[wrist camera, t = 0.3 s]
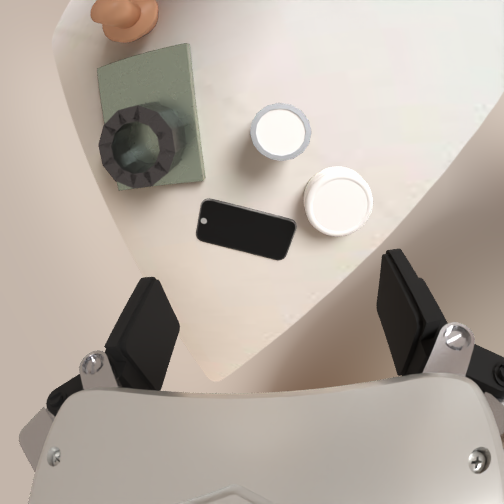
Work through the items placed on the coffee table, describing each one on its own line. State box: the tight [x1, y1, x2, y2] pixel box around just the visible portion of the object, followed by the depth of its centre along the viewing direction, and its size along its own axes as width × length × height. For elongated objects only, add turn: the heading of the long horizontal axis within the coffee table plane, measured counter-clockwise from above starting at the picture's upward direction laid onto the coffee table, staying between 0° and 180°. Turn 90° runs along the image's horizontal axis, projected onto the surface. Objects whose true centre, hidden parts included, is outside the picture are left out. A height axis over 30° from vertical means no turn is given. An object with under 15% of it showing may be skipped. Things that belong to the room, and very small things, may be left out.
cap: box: [91, 0, 158, 43], centre depth 23 cm, size 8×8×10 cm
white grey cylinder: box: [250, 103, 311, 161], centre depth 33 cm, size 7×7×7 cm
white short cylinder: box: [303, 167, 373, 236], centre depth 39 cm, size 10×10×4 cm
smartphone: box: [196, 199, 297, 260], centre depth 45 cm, size 8×1×15 cm
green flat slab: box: [97, 43, 206, 191], centre depth 33 cm, size 20×14×6 cm
